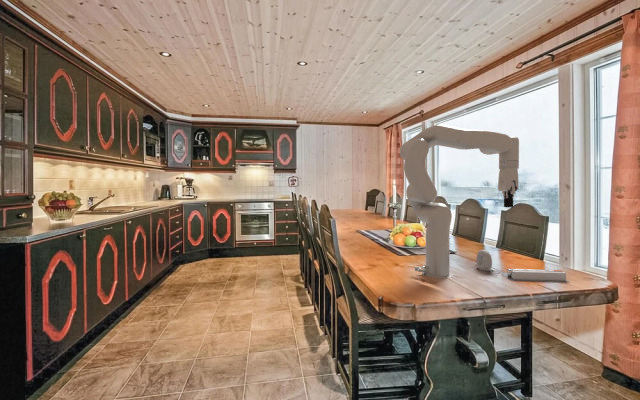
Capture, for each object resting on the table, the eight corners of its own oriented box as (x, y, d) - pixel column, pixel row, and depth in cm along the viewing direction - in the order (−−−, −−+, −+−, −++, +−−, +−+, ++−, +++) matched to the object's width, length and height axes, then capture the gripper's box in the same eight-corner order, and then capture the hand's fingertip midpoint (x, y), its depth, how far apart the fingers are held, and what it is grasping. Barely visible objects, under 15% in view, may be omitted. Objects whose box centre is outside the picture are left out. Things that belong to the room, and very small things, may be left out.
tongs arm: (508, 277, 128) (508, 269, 128) (506, 275, 130) (506, 268, 130) (563, 278, 125) (563, 271, 125) (560, 277, 127) (560, 269, 127)
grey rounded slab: (493, 274, 137) (493, 252, 137) (485, 275, 137) (485, 252, 137) (482, 268, 147) (482, 247, 147) (474, 269, 147) (474, 247, 147)
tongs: (511, 283, 124) (511, 273, 124) (499, 275, 136) (499, 265, 136) (570, 285, 121) (570, 274, 121) (552, 276, 133) (553, 266, 133)
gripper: (493, 166, 146) (492, 206, 147) (506, 164, 132) (506, 208, 132) (510, 166, 145) (510, 206, 146) (526, 164, 131) (525, 208, 131)
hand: (508, 207), depth 139 cm, fingers closed
